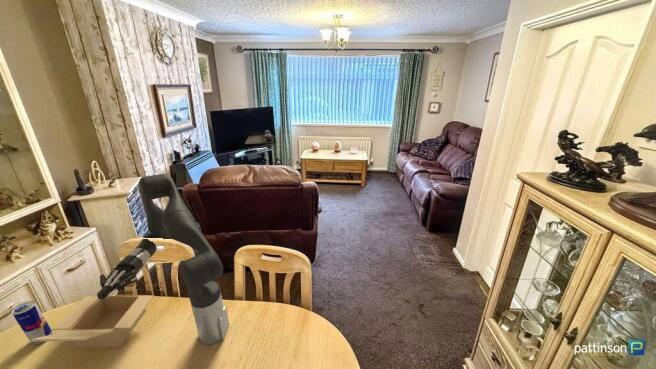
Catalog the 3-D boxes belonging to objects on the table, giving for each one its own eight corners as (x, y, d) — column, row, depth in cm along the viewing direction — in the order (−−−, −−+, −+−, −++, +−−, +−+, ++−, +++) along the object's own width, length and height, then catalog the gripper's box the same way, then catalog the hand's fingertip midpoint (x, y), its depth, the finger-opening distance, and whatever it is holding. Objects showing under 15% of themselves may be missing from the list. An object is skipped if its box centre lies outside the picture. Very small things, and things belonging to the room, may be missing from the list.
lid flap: (83, 338, 70) (82, 340, 70) (112, 330, 81) (112, 332, 81) (30, 339, 70) (29, 342, 69) (67, 330, 80) (66, 333, 80)
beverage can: (39, 347, 83) (18, 315, 77) (27, 343, 84) (6, 311, 78) (57, 333, 88) (39, 301, 82) (45, 330, 89) (27, 298, 83)
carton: (159, 310, 97) (154, 294, 94) (136, 346, 84) (128, 328, 81) (95, 311, 96) (87, 295, 93) (60, 347, 83) (50, 330, 80)
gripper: (113, 254, 98) (75, 289, 82) (148, 254, 99) (117, 288, 83) (119, 269, 101) (83, 305, 85) (153, 269, 102) (123, 305, 86)
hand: (100, 297), depth 84 cm, fingers closed
